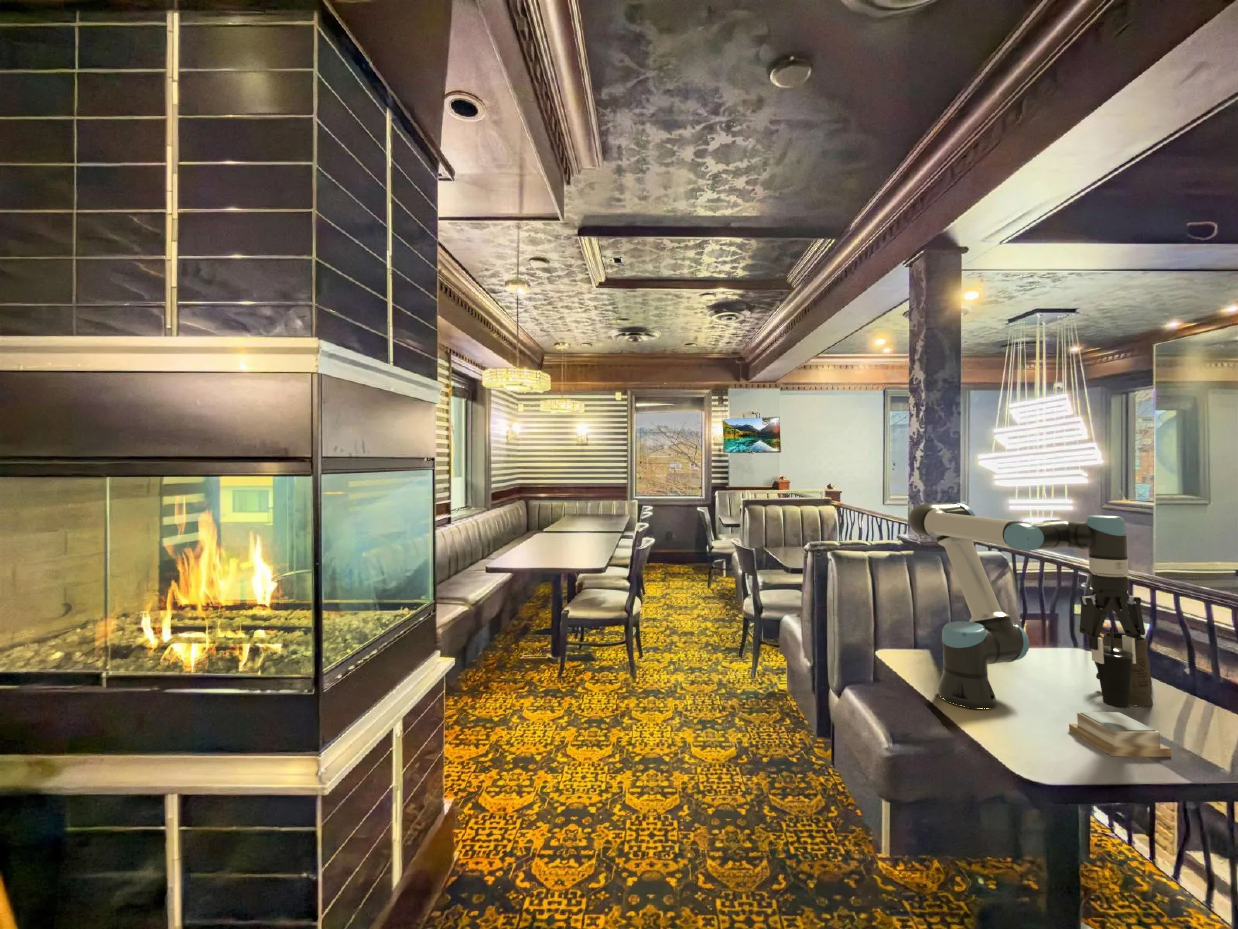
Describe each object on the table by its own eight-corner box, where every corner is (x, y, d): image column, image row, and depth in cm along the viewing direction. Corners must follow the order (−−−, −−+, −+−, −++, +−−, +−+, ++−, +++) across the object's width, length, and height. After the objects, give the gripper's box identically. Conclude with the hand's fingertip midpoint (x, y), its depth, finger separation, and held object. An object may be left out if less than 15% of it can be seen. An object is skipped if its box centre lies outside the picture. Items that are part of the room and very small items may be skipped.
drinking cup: (1129, 713, 129) (1124, 633, 130) (1090, 702, 136) (1086, 626, 137) (1142, 706, 133) (1137, 628, 134) (1103, 696, 140) (1099, 622, 140)
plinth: (1112, 756, 128) (1111, 733, 128) (1069, 731, 141) (1068, 709, 141) (1171, 756, 128) (1169, 733, 128) (1122, 731, 140) (1121, 709, 141)
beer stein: (1165, 705, 155) (1155, 637, 157) (1141, 710, 152) (1132, 641, 154) (1105, 689, 170) (1097, 627, 172) (1082, 693, 167) (1074, 630, 169)
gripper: (1081, 577, 132) (1086, 667, 132) (1163, 576, 132) (1168, 666, 131) (1057, 572, 140) (1062, 657, 139) (1135, 571, 139) (1140, 656, 138)
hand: (1113, 661), depth 135 cm, fingers closed on drinking cup, 7 cm apart
